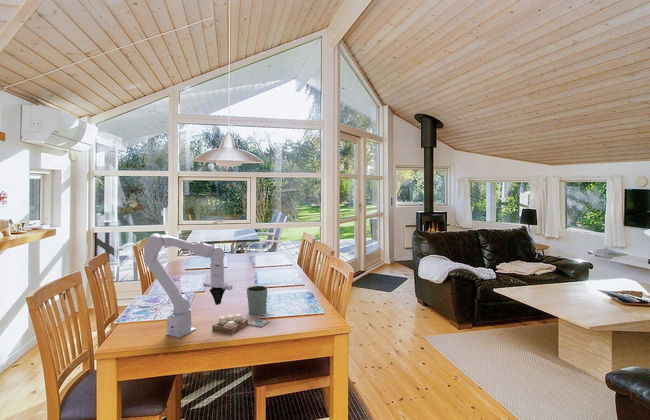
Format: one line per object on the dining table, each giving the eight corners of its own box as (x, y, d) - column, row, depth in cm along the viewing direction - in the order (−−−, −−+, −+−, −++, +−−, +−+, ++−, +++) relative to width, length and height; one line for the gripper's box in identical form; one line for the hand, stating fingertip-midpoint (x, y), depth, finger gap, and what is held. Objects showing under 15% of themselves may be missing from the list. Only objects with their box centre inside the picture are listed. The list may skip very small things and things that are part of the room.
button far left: (230, 324, 161) (230, 317, 160) (225, 323, 162) (225, 316, 161) (234, 322, 163) (234, 315, 163) (229, 321, 164) (229, 314, 164)
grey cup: (263, 316, 172) (262, 292, 171) (243, 314, 174) (243, 290, 173) (270, 309, 182) (270, 286, 181) (251, 307, 184) (251, 284, 183)
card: (261, 327, 159) (261, 326, 159) (248, 324, 162) (248, 323, 162) (269, 321, 166) (269, 320, 166) (256, 319, 168) (256, 318, 168)
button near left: (222, 325, 155) (222, 319, 155) (217, 324, 156) (217, 318, 156) (226, 323, 158) (226, 317, 158) (221, 322, 159) (221, 316, 159)
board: (231, 334, 152) (231, 328, 151) (212, 330, 155) (212, 325, 155) (247, 324, 163) (247, 319, 162) (229, 320, 166) (229, 315, 166)
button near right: (231, 330, 154) (231, 323, 153) (226, 329, 155) (226, 322, 154) (235, 328, 156) (235, 321, 156) (230, 327, 157) (230, 320, 157)
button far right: (239, 323, 159) (239, 316, 158) (234, 322, 160) (234, 315, 160) (243, 320, 161) (243, 314, 161) (238, 319, 162) (238, 313, 162)
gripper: (236, 273, 159) (237, 303, 160) (210, 270, 164) (211, 299, 165) (226, 277, 152) (226, 308, 153) (199, 273, 158) (200, 304, 159)
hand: (218, 304), depth 159 cm, fingers closed
